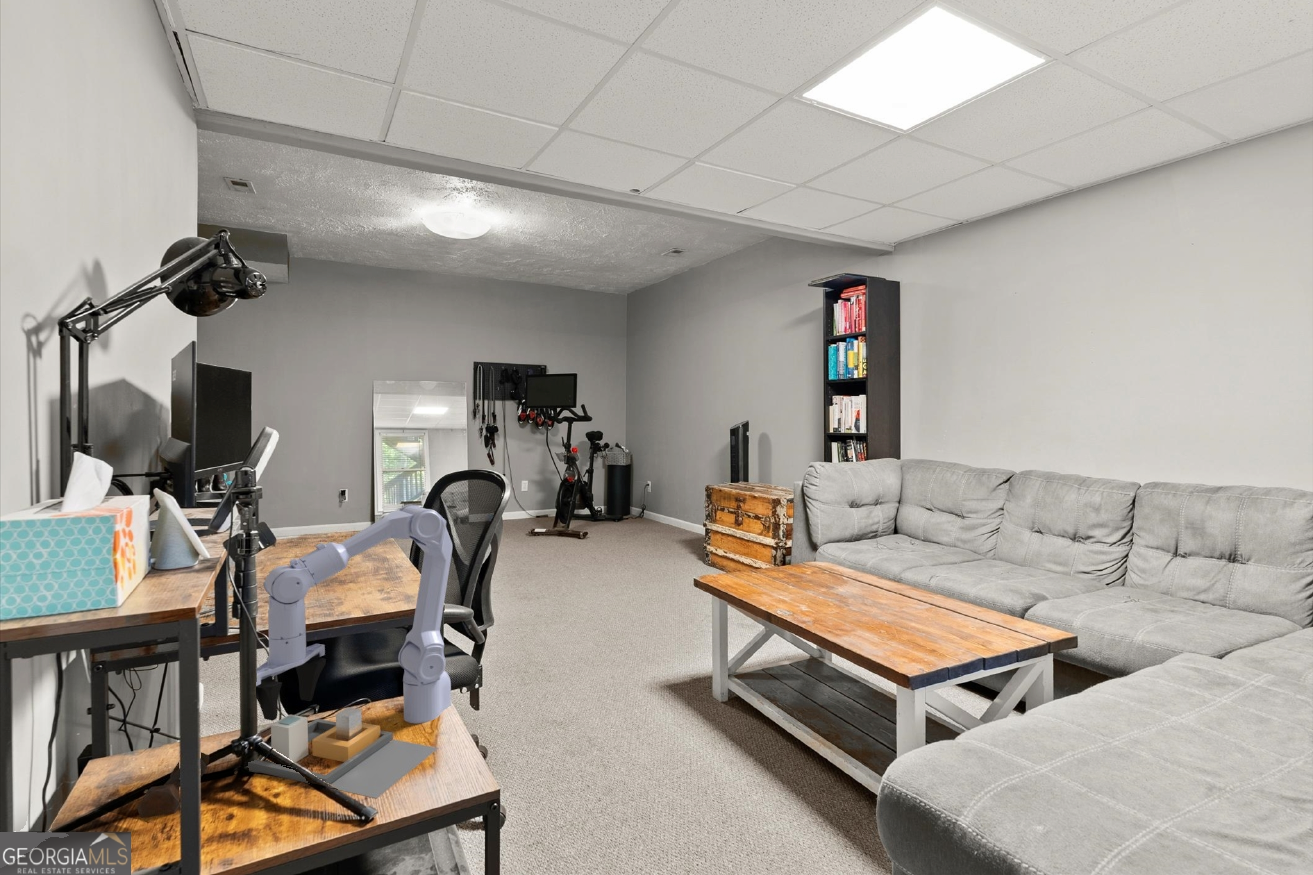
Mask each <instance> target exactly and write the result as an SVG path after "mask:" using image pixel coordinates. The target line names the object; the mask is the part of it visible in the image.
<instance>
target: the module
mask: <svg viewBox="0 0 1313 875" xmlns="http://www.w3.org/2000/svg"><path fill="white" fill-rule="evenodd" d="M308 724H309V722H308V717H306V716H301V715H295V714H288V715H286V716H285V717H282V718H281V719H279V720H278V721H275V722H274V723H271V725H270V731H271V732H270V738H271V740H270V741H271V745H272V748H274V749H276V751H277V752H279V753H281V754H283V755H284V756H286V757H287V758H289V759H290V760H292V761H293V762H296V763H297V762H298V761H300V760H302V759H303V758H305V757H307V756H309V742H308ZM271 745H270V746H271ZM272 763H273V764H275V763H274V762H272Z"/></svg>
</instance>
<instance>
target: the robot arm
mask: <svg viewBox="0 0 1313 875" xmlns="http://www.w3.org/2000/svg"><path fill="white" fill-rule="evenodd" d="M390 539H394V540H395V539H399V540H400V539H401V540H410V539H411V540H412V541H414V542H415V544H416V545H417V546H418V547H419V548H420V549H421V550H422V551H423V553H424V554H423V561H422V568H421V573H420V579H419V586H418V593H417V598H416V605H415V610H414V618H413V624H412V629H410V630H409V632H408V633H407V634H406V636H405V641H404V643H403V645H402V647H401V649H400V650H399V652H398V656H397V657H398V663H399V666H400V667H401V668H402V669H404V672H403V678H402V682H403V689H402V690H403V691H402V692H403V719H404V720H403V721H405V722H407V723H409V724H424V723H429V722H431V721H432V722H433V720H436V719H437V718H438V717H439V716H441V714H442V713H443V712H444V711H445V710H447V709H448V708H450V707H452V694H451V693H452V692H451V691H452V687H451V686H452V683H451V682H452V681H451V678H450V676H449V674H448V672H447V671H446V670H445V668H446V664H447V661H446V657H445V653H444V649H445V643H444V641H443V637H442V634H441V631H440V630H441V625H442V620H443V612H444V604H445V599H446V593H447V587H448V586H447V585H448V578H449V573H450V566H451V561H452V554H453V542H452V539H451V537H450V535H449V531H448V529H447V520H446V519H445V518H443V516H442V515H441V514H440V513H439V512H437V511H436V510H434V509H431V508H425V507H422V506H421V507H420V506H419V505H415V504H406V505H404V506H402V507H401V508H400V509H395V510H393V511H391V512H390V513H388V514H387V515H385V516H384V517H382V518H381V519H379V520H378V521H376V522H374V523H372V524H371V525H369V526H367V527H366V528H364V529H362V530H361V531H359V532H357V533H356V534H354V535H352V536H351V537H349V538H347V539H345V540H344V541H342V542H340V543H336V542H331V541H330V542H328V543H326V544H325V543H323V542H320V543H319V544H317V545H315V548H316V549H313V550H312V551H310V552H309V553H307V554H305V555H303V556H301V557H299V558H293V559H290V560H289V564H290V565H287V564H285V565H279V566H276V567H275V568H273V569H271V570H270V571H269V573H268V574H267V575H266V576H265V577H266V578H265V580H264V582H263V588H264V590H265V592H266V594H268V595H269V596H268V612H267V615H268V616H267V617H268V620H267V622H268V624H267V625H268V627H267V628H268V656H267V657H266V661H265V662H264V663H262V664H260V665H259V666H258V667H256V669H257V682H256V697H255V698H256V700H257V702H258V704H259V707H260V709H261V713H262V715H263V719H264V720H268V721H275V720H277V717H278V710H279V709H278V708H279V705H278V704H279V697H280V691H281V688H282V685H283V682H282V681H276V679H275V678H274V677H275V676H277V675H280V674H282V673H284V672H286V671H288V670H291V669H293V668H295V669H296V674H297V677H298V678H297V679H298V690H299V698H300V700H301V701H306V702H307V701H308V702H311V701H312V700H313V699H314V698H313V697H314V694H315V689H316V687H317V683H318V680H319V677H320V675H321V674H322V671H323V669H324V667H325V665H326V662H327V661H326V660H327V659H326V658H322V656H326V654H325V653H326V650H325V649H326V648H325V646H326V645H325V644H320V643H314V644H312V645H309V646H307V632H306V631H307V629H306V606H305V597H306V596H307V594H308V592H309V591H310V589H311V588H314V587H315V586H318V585H319V584H321V583H322V582H324V581H326V580H327V579H328V580H329V578H331V577H333V576H335V575H336V574H338V573H340V572H342V571H343V570H345V569H346V568H347V566H348V564H349V562H350V559H352V558H354V557H356V556H357V555H360V554H362V553H364V552H366V551H368V550H369V549H371V548H374V547H375V546H377V545H380V544H382V543H384V542H385V541H388V540H390Z"/></svg>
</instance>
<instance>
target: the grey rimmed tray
mask: <svg viewBox="0 0 1313 875" xmlns="http://www.w3.org/2000/svg"><path fill="white" fill-rule="evenodd" d="M392 740H394V733H393V732H391V731H385V730H381V725H378V724H373V723H365V722H362V733H360V734H359V735H357V736H356V737H354V738H353V739H351V740H349V741H348V742H347V741H342V740H337V739H336V721H333V720H332V721H331V720H327V719H323V718H322V719H320V718H316V719H314V720H313V721H311V722H308V743H309V742H311V741H312V742H311V745H312V746H311V747H312V756H313V757H318V758H323V759H327V760H332V761H338V762H342V763H341V764H340V765H338V766H336V767H335V768H334V769H332V770H331V771H329V772H327V774H323V773H319V772H313V771H310V772H311V773H312V774H314V775H315V776H317V778H319V779H322V781H325V782H326V783H329V784H330V785H331V783H333V782H334V781H335V780H337V779H338V778H340V777H341V776H342V775H344V774H345V773H347V772H348V771H349V770H351V769H352V768H354V767H355V766H356V765H358V764H359V763H361V762H362V761H363V760H365V759H366V758H368V757H369V756H371V755H372V754H373V753H375V752H376V751H378V750H379V749H380V748H382V747H383V746H385V745H386V744H387V743H389V742H391V741H392ZM270 746H272V745H270ZM283 766H284V765H282V766H281V764H276V763H272V762H270V761H268V760H265V761H259V760H254V761H251V762H248V768H249V771H248V772H251V773H256V774H258V773H261V774H266V775H270V776H274V777H278V778H282V779H288V780H291V781H292V780H293V781H297V782H302V783H306V784H310V783H308V781H306V779H305V778H304V777H303V776H302V775H301V774H300V773H299V772H296V771H295V770H293V769H289V768H286V767H283Z"/></svg>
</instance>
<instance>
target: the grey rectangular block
mask: <svg viewBox="0 0 1313 875" xmlns="http://www.w3.org/2000/svg"><path fill="white" fill-rule="evenodd" d="M362 721H363V720H362V709H360V708H355V707H349V706H347V707H346V708H344V709H342V710H341V711H339V712H338V713H336V714H335V722H336V739H337V740H342V741H347V742H348V741H349V740H351V739H353V738H354V737H356V736H357V735H359V734H360V733H362V723H363V722H362Z"/></svg>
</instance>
